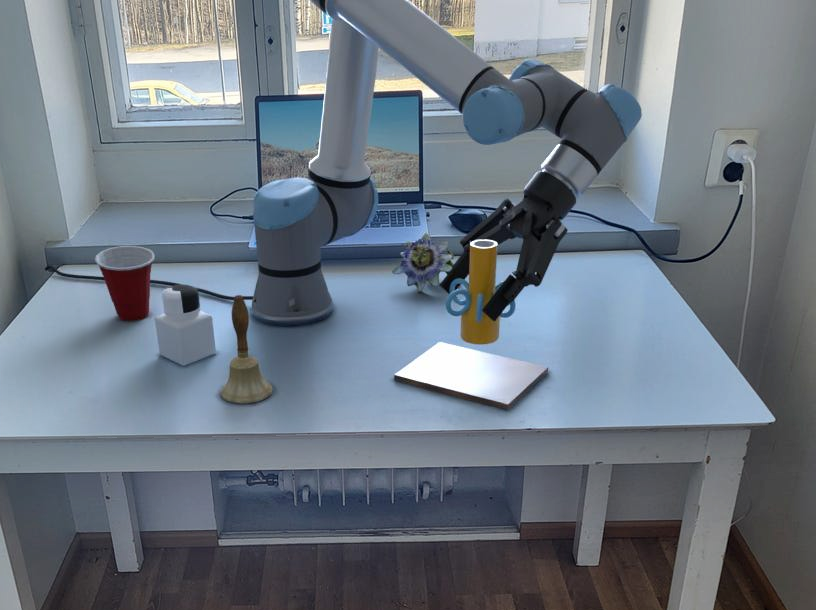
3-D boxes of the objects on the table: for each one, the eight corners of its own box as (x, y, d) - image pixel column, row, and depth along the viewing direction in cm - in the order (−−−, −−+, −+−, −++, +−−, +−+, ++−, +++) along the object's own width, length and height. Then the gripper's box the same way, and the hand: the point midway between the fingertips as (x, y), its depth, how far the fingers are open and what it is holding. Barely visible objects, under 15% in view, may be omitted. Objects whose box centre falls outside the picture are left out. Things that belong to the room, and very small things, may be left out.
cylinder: (512, 355, 137) (519, 258, 129) (442, 352, 139) (445, 256, 131) (514, 323, 148) (521, 231, 140) (449, 321, 149) (452, 230, 141)
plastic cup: (123, 332, 168) (113, 269, 162) (95, 316, 175) (83, 255, 169) (173, 315, 174) (165, 254, 168) (144, 301, 181) (135, 241, 175)
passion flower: (420, 316, 184) (385, 272, 178) (422, 287, 192) (389, 244, 186) (468, 288, 178) (433, 242, 172) (468, 260, 186) (435, 215, 180)
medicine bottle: (192, 342, 163) (184, 277, 157) (217, 353, 159) (209, 287, 152) (159, 355, 159) (149, 289, 153) (183, 367, 155) (174, 299, 148)
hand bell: (224, 381, 150) (214, 287, 141) (275, 380, 149) (267, 286, 141) (217, 404, 143) (206, 308, 134) (270, 403, 142) (262, 306, 134)
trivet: (394, 380, 148) (394, 374, 147) (439, 347, 158) (439, 341, 157) (507, 410, 138) (508, 404, 137) (548, 372, 148) (548, 367, 148)
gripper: (623, 219, 130) (525, 342, 133) (524, 183, 148) (440, 292, 151) (598, 187, 125) (496, 315, 128) (499, 153, 143) (412, 266, 146)
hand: (466, 303), depth 139 cm, fingers closed on cylinder, 11 cm apart
